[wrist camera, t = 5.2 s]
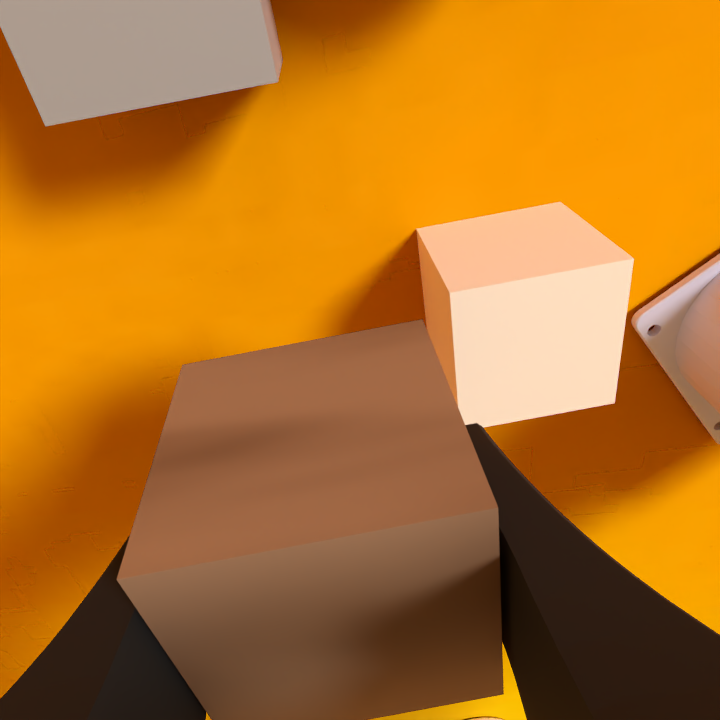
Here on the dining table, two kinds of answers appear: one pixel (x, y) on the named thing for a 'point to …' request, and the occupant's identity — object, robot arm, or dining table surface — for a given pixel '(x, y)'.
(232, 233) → the dining table surface
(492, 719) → the flower vase
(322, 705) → the walnut cube
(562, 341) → the cream cube
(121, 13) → the light grey cube
